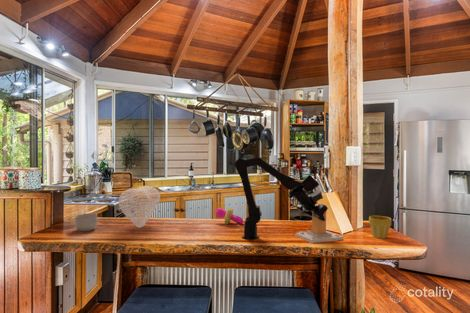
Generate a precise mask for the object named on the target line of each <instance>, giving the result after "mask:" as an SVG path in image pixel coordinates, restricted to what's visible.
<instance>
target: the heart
mask: <svg viewBox="0 0 470 313" xmlns="http://www.w3.org/2000/svg"><path fill="white" fill-rule="evenodd" d="M160 201H161V193H160V191H159V190H158V189H157V188H155V187H154V186H151V185H143V186H140V187H138V188H129V189H128V188H127V189H126V190H124V191H123V192H122V193H121V194H120V195H119V198H118V206H119V209H120V211H121V212H122V213H123V214H124V215H125V216H126V217H127V218H128V220H130V221H131V223H132V224H134V226H136V227H137V228H138V229H139V228H143V227H144V226H145V225H146V224H147V222H148V220H149V219H150V217H151V216H152V214H153V212H154V211H155V210H156V209H157V207H158V206H159V204H160Z"/></svg>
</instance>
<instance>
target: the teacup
mask: <svg viewBox="0 0 470 313" xmlns="http://www.w3.org/2000/svg"><path fill="white" fill-rule="evenodd" d="M74 223H75V228H76V229H77V230H78V231H80V232H89V231H93V230H94V229H95V228H96V227H97V225H98V214H97V213H94V212H90V213H87V212H86V213H85V212H84V213H81V214H77V215H75V216H74Z"/></svg>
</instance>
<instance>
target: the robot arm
mask: <svg viewBox="0 0 470 313" xmlns="http://www.w3.org/2000/svg"><path fill="white" fill-rule="evenodd" d="M234 166H235V169H236V172H237V173H238V175H239V177H240V179H241V185H242V187H243V191H244V196H245V199H246V203H247V211H248V212H247V214H248V216H247V217H246V218H245V219H244V221H243V222H244V223H243V224H244V225H243V228H244V229H243V236H241V238H242V239H245V240H250V241H253V240H256V239H258V238H260V236H259V235H258V225H257V224H258V223H260V221H261V217H262V211H261V206H260V205H257V203H256V200H255V197H254V193H253V189H252V184H251V181H250V177H249V168H250V167H255V166H258V167H259V168H260V169H262V170H264V171H265V172H267V173H269V175H271V177H273V178H275V179H276V180H277V181H278V182H279V183H281V185H282V186H283V187H284V188H285V189H287V190H289V191H288V194H287V196H288V198H289V199H290V200H291V199H292V198H294V199H295V200H296V201H297V205H296V209H297V211H298V212H300V213H303V214H305V215H307V216H309V217H312V212H313V214H314V215H313V216H314V217H316V218H318V219H320V220H322V221H325V218H324V215H323V214H324V213H325V212H326V213H327V210H328V209H329V208H328V206H327V205H326V204H323V203H319V204H318V201H320V200H322V199H323V198H324V197H323V195H322V191H317V190H316V188H318V187H319V186H320V184H319V182H318V181H317V180H316V179H315V178H314V177H313V176H312V175H311V174H308V175H307V176H306V177H305V178H304V179H303V180H302V181H301V180H296V179H295V178H293V177H292V176H289V175H287V174H285V173H283V172H281V171H280V170H278V169H277V168H275V167H274V166H272V165H271V164H269V162H267V161H265V160H264V159H263V158H262V157H260V156H257V157H254V158H249V159H245V158H237V159H236V161H235V163H234ZM314 190H316V191H314Z"/></svg>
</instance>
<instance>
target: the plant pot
mask: <svg viewBox="0 0 470 313" xmlns="http://www.w3.org/2000/svg"><path fill="white" fill-rule="evenodd" d="M368 224H369V225H370V230H371V235H372V238H373V237H374V238H376V239H387V238H388V234H389V230H390V227H391V226H392V218H391V217H389V216H383V215H369V217H368Z"/></svg>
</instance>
